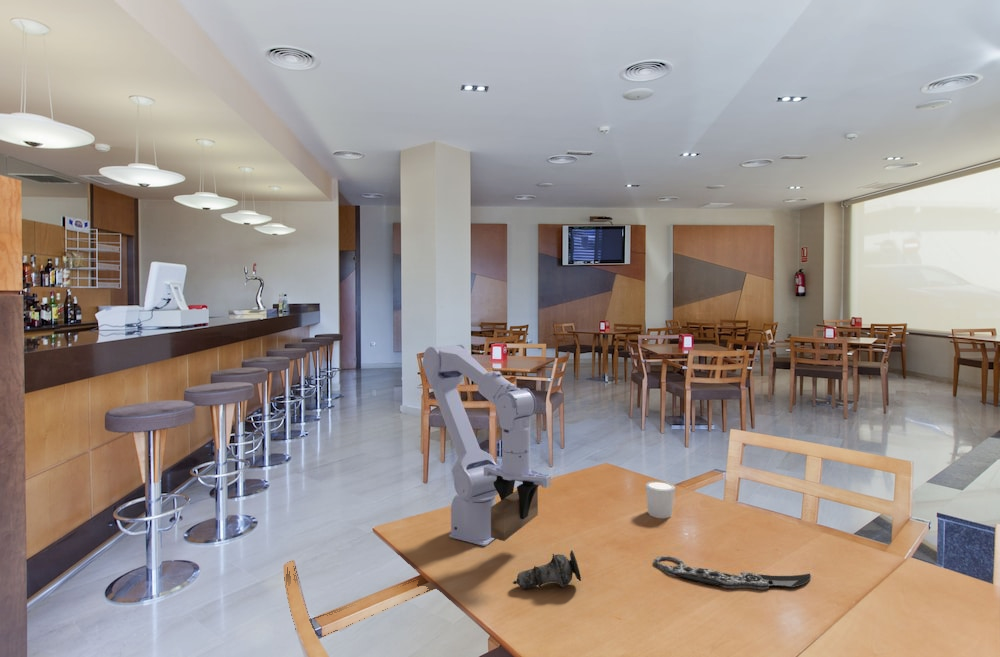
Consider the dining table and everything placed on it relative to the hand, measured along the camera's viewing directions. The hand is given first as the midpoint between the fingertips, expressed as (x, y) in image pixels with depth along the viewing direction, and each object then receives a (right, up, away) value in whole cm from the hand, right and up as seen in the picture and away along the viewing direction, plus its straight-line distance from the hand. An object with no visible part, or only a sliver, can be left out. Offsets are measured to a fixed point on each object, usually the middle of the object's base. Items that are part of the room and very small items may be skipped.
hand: (516, 515), depth 108 cm
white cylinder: (+36, -7, +22) cm, 42 cm away
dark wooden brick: (0, -2, 0) cm, 2 cm away
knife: (+40, -9, -8) cm, 42 cm away
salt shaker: (+11, -5, -11) cm, 16 cm away
